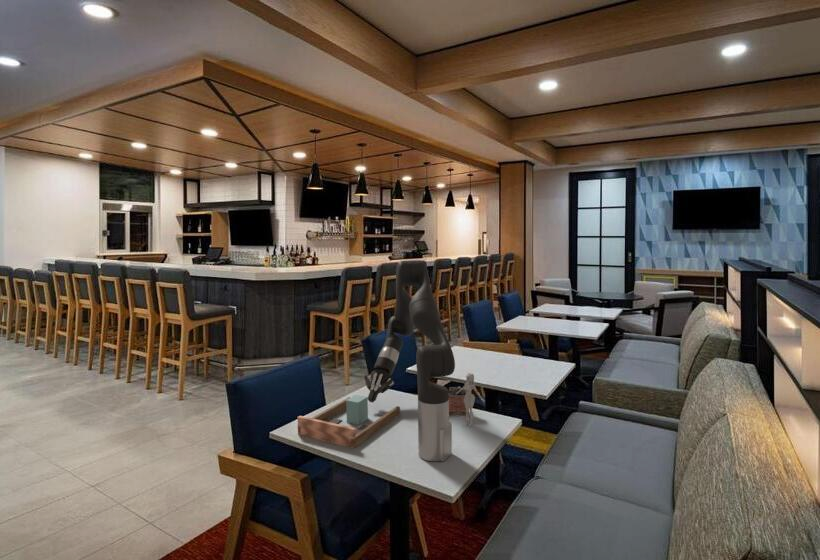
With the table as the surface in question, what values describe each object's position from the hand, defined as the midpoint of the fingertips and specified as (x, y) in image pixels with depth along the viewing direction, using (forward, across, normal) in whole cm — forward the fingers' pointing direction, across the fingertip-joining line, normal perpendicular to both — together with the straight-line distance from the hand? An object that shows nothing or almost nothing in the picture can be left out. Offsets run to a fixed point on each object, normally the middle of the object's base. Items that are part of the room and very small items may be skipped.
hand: (370, 401), depth 172 cm
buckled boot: (-6, +30, +12) cm, 33 cm away
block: (+9, 0, -4) cm, 10 cm away
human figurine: (-1, +37, +6) cm, 38 cm away
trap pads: (+14, 0, -9) cm, 16 cm away
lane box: (+12, 0, -6) cm, 14 cm away
